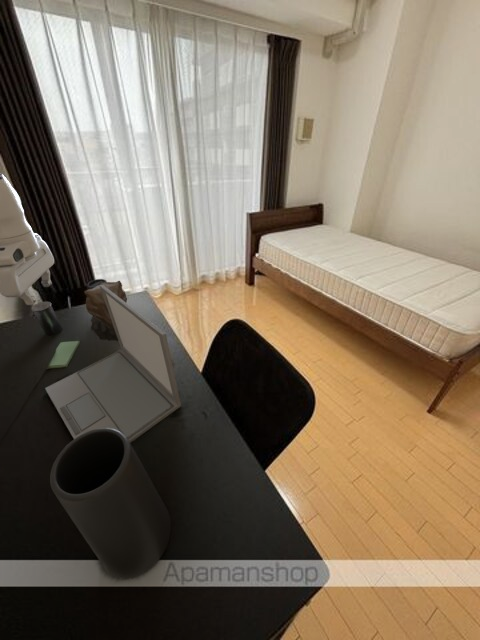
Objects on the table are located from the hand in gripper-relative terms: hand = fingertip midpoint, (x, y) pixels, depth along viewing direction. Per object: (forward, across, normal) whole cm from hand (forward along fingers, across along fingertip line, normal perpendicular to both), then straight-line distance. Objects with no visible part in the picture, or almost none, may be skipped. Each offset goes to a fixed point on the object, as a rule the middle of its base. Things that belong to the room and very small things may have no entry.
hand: (40, 294), depth 76 cm
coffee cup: (+30, -35, 0) cm, 46 cm away
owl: (+30, -20, +8) cm, 37 cm away
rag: (+30, -10, -9) cm, 33 cm away
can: (+30, -25, -18) cm, 43 cm away
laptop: (+30, +12, +14) cm, 36 cm away
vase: (+30, +48, +28) cm, 63 cm away
